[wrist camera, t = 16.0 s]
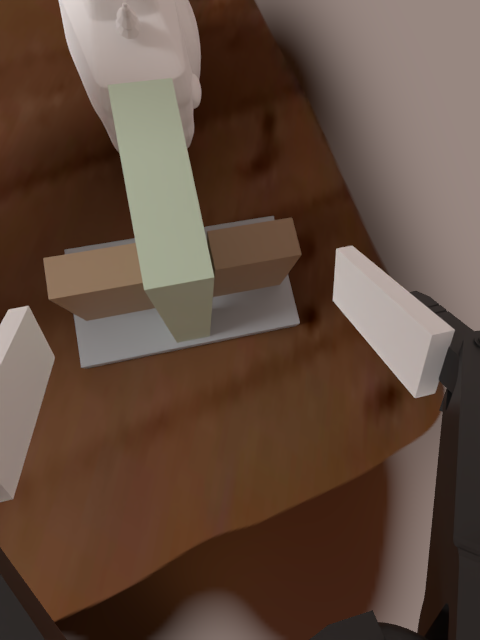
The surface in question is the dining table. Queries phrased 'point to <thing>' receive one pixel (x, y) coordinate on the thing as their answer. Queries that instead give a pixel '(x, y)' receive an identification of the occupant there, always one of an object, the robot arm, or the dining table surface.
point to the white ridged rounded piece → (134, 50)
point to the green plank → (164, 206)
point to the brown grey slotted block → (139, 312)
